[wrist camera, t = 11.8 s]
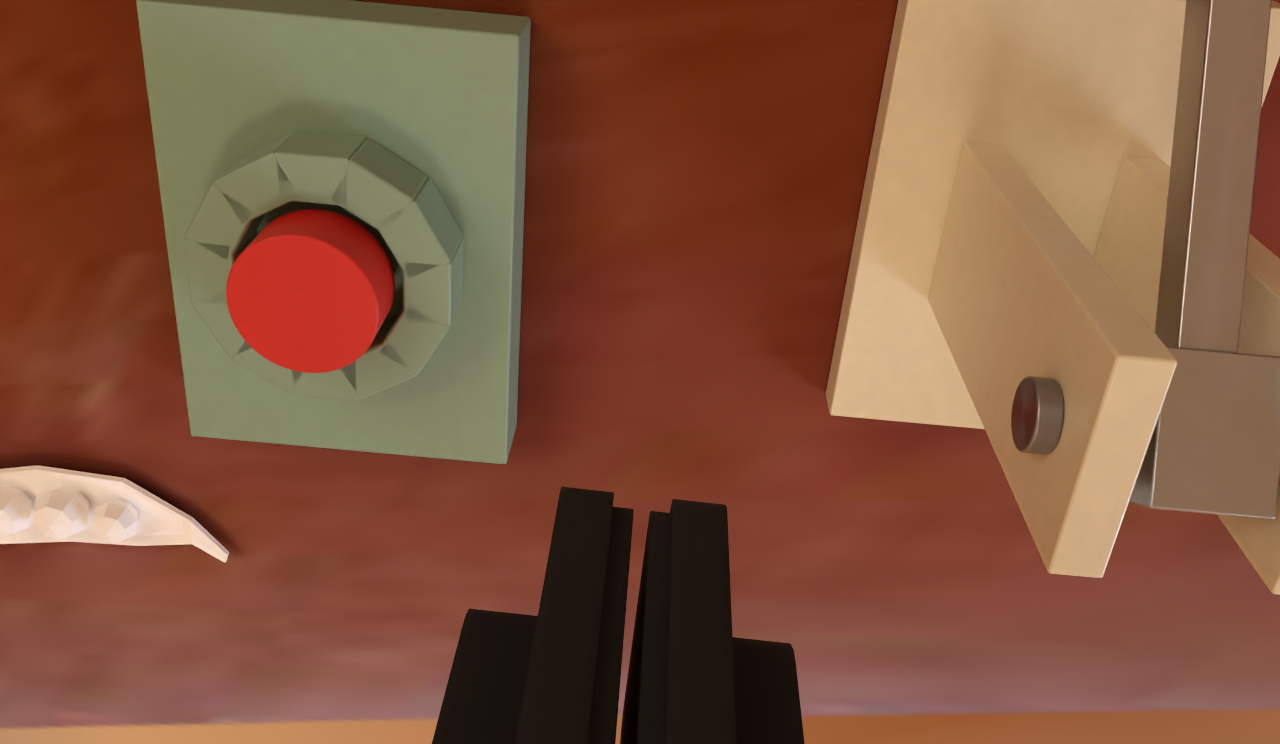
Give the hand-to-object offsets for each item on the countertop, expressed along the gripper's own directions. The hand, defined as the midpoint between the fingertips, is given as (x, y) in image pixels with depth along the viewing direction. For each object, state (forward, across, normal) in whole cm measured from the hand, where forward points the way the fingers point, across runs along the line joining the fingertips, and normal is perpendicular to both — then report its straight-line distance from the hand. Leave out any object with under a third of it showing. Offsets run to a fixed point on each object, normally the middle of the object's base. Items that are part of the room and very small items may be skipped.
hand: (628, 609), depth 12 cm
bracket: (+20, -10, +2) cm, 22 cm away
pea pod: (+20, +20, +16) cm, 33 cm away
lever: (+13, -10, -2) cm, 17 cm away
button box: (+20, +8, +5) cm, 22 cm away
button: (+16, +8, +5) cm, 19 cm away
